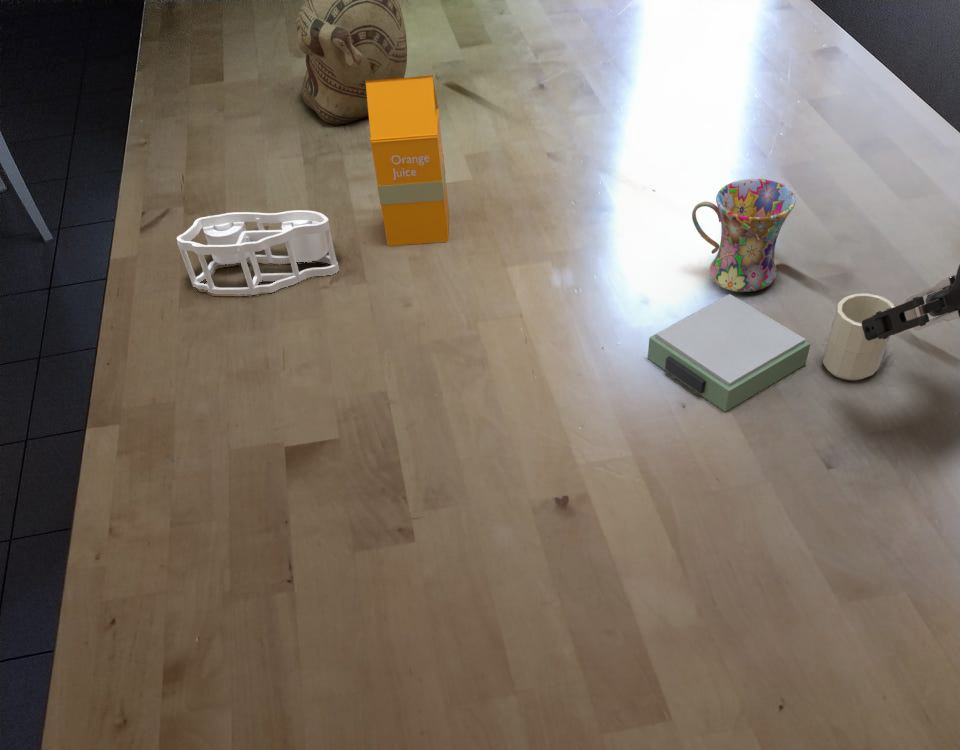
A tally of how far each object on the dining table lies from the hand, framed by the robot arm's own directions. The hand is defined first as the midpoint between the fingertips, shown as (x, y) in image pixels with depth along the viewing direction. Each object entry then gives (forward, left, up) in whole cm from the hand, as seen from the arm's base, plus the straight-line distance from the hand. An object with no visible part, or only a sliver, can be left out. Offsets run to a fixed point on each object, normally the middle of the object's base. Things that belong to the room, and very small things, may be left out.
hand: (898, 317), depth 95 cm
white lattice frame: (+42, -69, -9) cm, 82 cm away
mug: (-4, -26, -9) cm, 28 cm away
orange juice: (+20, -64, -9) cm, 68 cm away
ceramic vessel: (+5, -105, -9) cm, 106 cm away
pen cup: (-1, -4, -9) cm, 10 cm away
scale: (+9, -14, -9) cm, 19 cm away
